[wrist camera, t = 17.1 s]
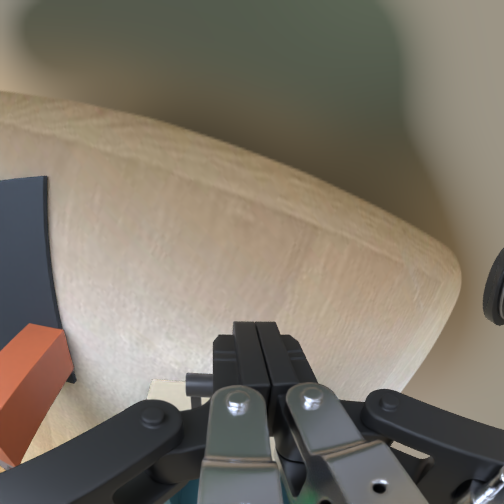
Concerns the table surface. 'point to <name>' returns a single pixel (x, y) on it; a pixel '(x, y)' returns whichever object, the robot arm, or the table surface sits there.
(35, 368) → the block
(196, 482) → the drawer
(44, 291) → the mat
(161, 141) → the table surface
